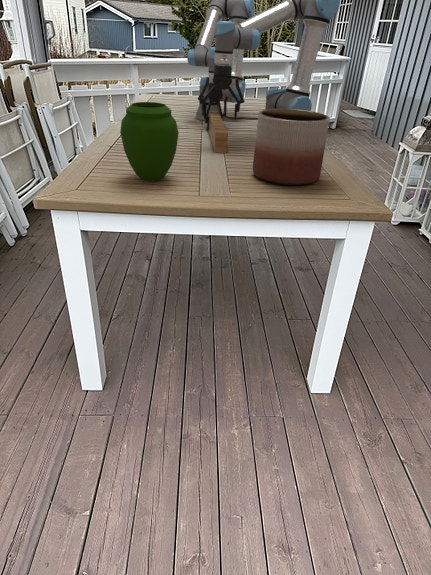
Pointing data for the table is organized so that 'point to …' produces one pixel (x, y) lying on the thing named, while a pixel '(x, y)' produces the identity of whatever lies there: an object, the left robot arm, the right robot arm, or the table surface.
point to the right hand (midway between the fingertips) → (220, 119)
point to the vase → (149, 139)
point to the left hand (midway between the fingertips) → (213, 129)
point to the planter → (290, 146)
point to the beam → (217, 132)
